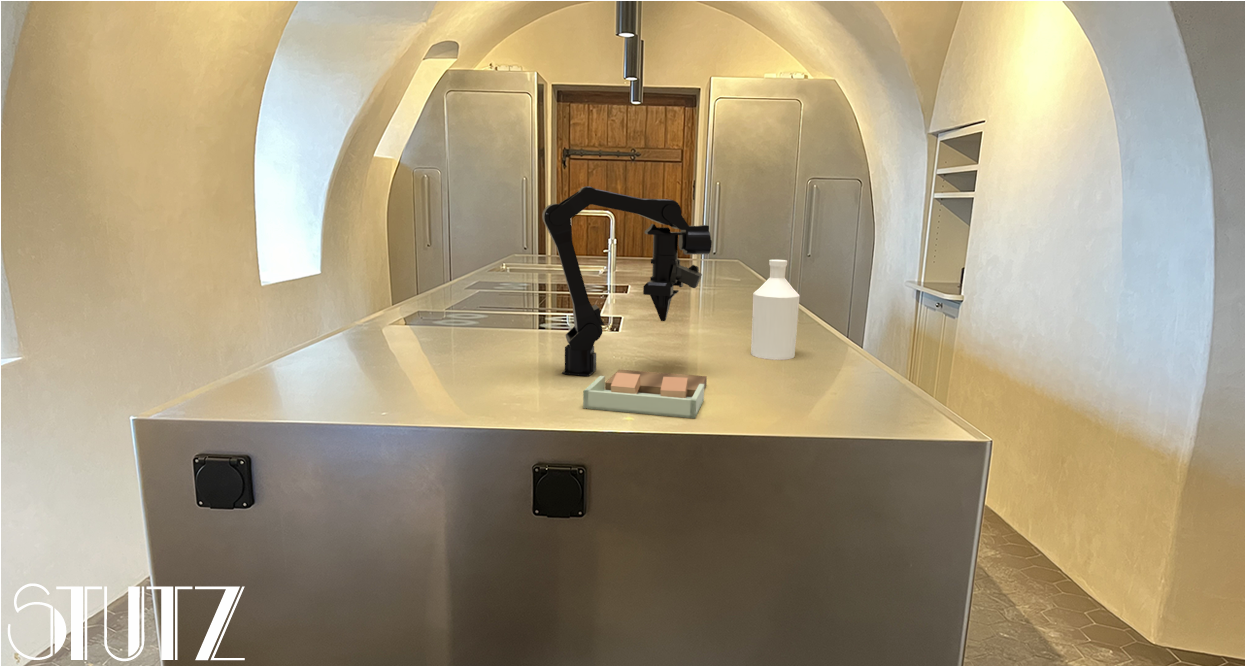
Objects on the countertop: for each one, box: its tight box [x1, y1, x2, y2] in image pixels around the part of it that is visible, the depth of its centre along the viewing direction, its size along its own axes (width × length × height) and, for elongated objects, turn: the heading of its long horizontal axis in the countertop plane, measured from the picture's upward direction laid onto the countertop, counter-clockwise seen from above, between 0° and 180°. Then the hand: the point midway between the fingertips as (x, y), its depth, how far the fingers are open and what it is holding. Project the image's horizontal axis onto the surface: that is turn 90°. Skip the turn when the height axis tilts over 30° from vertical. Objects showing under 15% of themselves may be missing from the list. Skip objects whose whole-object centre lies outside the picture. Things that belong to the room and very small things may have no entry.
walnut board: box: [605, 369, 708, 397], centre depth 156 cm, size 20×12×2 cm, turn 76°
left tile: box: [611, 372, 641, 394], centre depth 149 cm, size 5×5×2 cm
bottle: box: [750, 259, 801, 361], centre depth 189 cm, size 12×12×25 cm
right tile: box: [660, 377, 688, 398], centre depth 147 cm, size 5×5×2 cm
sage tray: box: [582, 375, 705, 419], centre depth 144 cm, size 22×12×4 cm, turn 76°
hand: (663, 320), depth 170 cm, fingers closed
